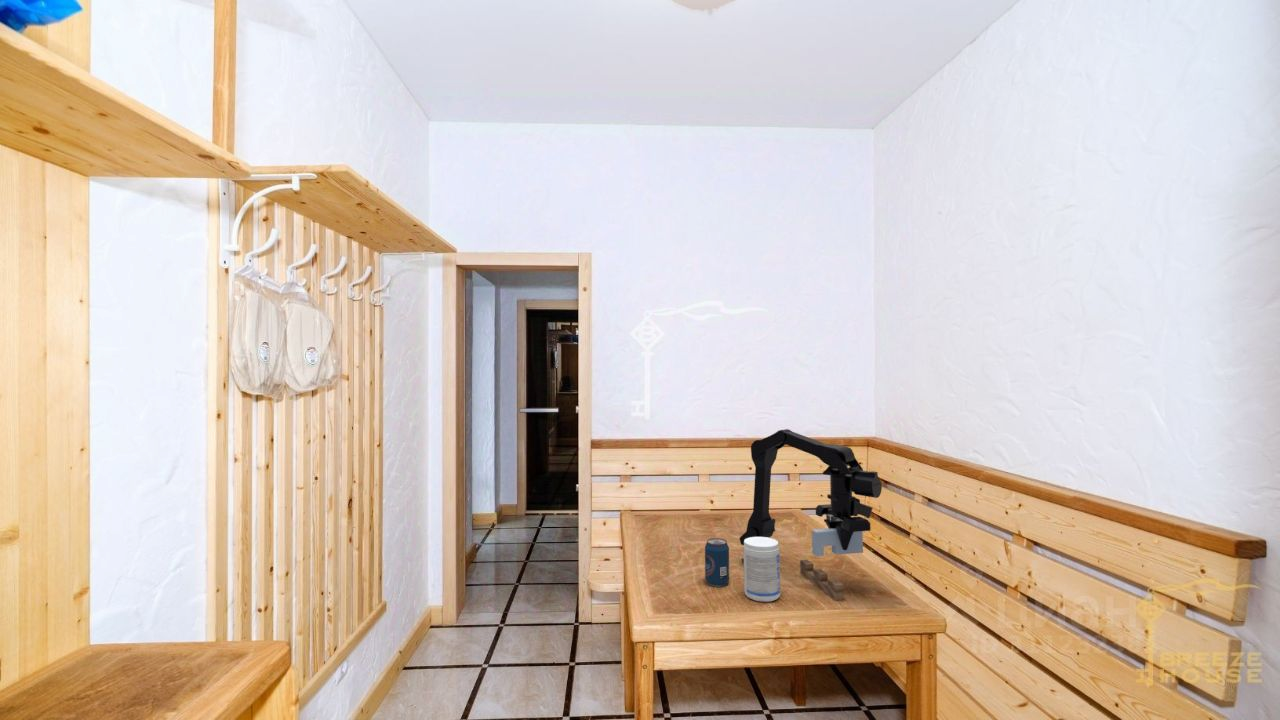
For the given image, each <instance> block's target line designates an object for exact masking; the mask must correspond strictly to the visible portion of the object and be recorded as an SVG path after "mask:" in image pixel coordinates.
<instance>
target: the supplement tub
mask: <svg viewBox="0 0 1280 720" xmlns="http://www.w3.org/2000/svg"><path fill="white" fill-rule="evenodd" d="M743 558H744V562H743V583H744V585H743V586H744V594H745V595H746V597H747V598H748V599H751V600H753V601H757V602H763V603H766V602H767V603H768V602H773V601H776V600H778V599H779V598H780V596H781V575H780V574H781V573H780V570H781V569H780V568H781V567H780V564H781V563H780V547H779V541H778V540H776V539H775V538H771V537H770V538H768V537H750V538H747V539H745V540H744V545H743Z"/></svg>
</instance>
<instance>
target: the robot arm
mask: <svg viewBox="0 0 1280 720" xmlns="http://www.w3.org/2000/svg"><path fill="white" fill-rule="evenodd" d="M785 446H789V447H792V448H794V449H796V450H799V451H802V452H804V453H807V454H809V455H812V456H815V457H817V459H819V460H820V461H821V462H822V463H824V464H825V465H826V466H827V468H826V469H825V470H823V471H822V474H823V475H825V476H829V479H830V480H829V481H830V482H829V486H830V489H829V490H830V493H829V494H827V495H826V496H827V499H829V500H830V504H829V503H827V504H818V505H817V506H816V507H815V515H816V516H817V517H820V518H821V517H823V516H824V515H825V517H826V518H824V519H823V521H824V522H825V524H826V526H827V529H832V528H836V529H837V532H838V536H839V539H840V542H841V546H842V548H843V550H847V548H848V546H849V543H850V540H851V537H852V535H853V533H854V532H858V531H863V532H867V531H869V532H870V531H872V530H871V525H872V524H871V521H869V520H868V519H870V518H871V515H872V512H873V509H874V508H873V507H871V506H869V505H866V504H864V503H862V502H861V499H860V498H857V497H856V496H853V494H854V495H857V496H861V497H862V496H864V497H869V498H874V499H878V498H879V497H880V495H881V493H882V489H883V484H882V481H881V478H880V477H879V472H877V471H875V470H873V471H870V470H869V471H868V470H864V469H863V467H862V466H861V465H860V462H859V461H858V459H856V456H855V453H854V452H853V449H852V448H851V447H849V446H846V445H840V444H832V443H824V442H822V441H819V440H817V439H813V438H811V437H808V436H805V435H802V434H800V433H798V432H794V431H793V430H791V429H789V428H785V429H779V430H777V431H776V432H774V433H773V434H771V435H769V436H766V437H764V438H762V439H756V440H754V441H753V442H752V443H751V445H750V453H751V454H750V455H751V460H752V462H753V464H754V467H755V470H754V486H753V487H754V488H753V506H752V513H751V515H750V517H749V519H748V522H747V525H746V529H745V532H744V533H743V534H742V535H740V537H739V538H738V539H739V542H740V545H741V546H744V540H745V539H747V538H750V537H768V538H771V537H772V536H773V535H774V532H776V528H775V526H776V525H775V524H776V519H775V518H772V516H771V514H770V500H771V499H770V496H771V481H772V479H771V478H772V468H773V465H774V464H775V461H776V459H777V455H778V451H779V450H780V449H782V448H783V447H785ZM859 515H860V516H859ZM862 516H863V517H862ZM864 517H865V518H864ZM866 518H867V519H866ZM741 561H742V562H743V563H744V557H743V558H741Z"/></svg>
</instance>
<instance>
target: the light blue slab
mask: <svg viewBox="0 0 1280 720" xmlns="http://www.w3.org/2000/svg"><path fill="white" fill-rule="evenodd" d="M863 532H864V531H858V532H854V533H853V535H852V537H851V540H850V543H849V546H848V548H847V550H843V548H842V546H841V542H840V539H839V536H838V532H837V529H836V528H832V529H829V528H820V529H819V528H818V529H812V530H811V548H812V555H814V556H815V557H823V556H825V555H824V554H825V550H824V549H825V547H828V546H829V547H831V552H832V553H833V554H835V555H836V556H837V555H839V556H840V555H850V554H861V553H864V546H863V545H864V538H863V537H864V536H863V535H864V533H863Z"/></svg>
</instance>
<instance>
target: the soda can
mask: <svg viewBox="0 0 1280 720" xmlns="http://www.w3.org/2000/svg"><path fill="white" fill-rule="evenodd" d="M704 578H705V581H706V583H707V584H708V585H709V586H712V587H717V588H719V587H725V586H727V584H728V583H729V581H730V546H729V545H728V542H727V540H726V539H725V538H724V539H723V538H720V537H718V538H717V537H714V538H708V539H707V540H706V544H705V546H704Z"/></svg>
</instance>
